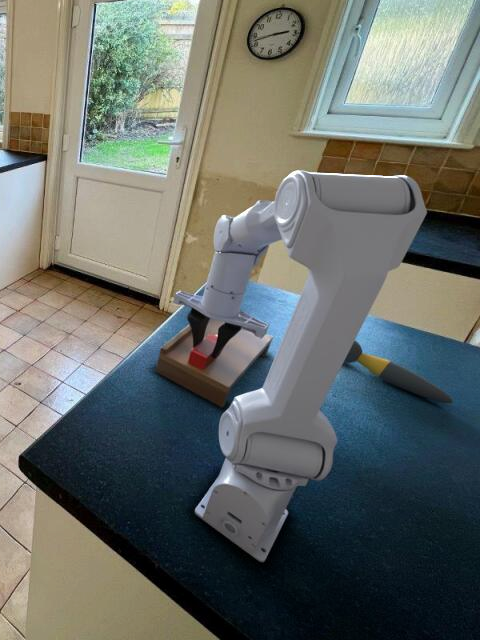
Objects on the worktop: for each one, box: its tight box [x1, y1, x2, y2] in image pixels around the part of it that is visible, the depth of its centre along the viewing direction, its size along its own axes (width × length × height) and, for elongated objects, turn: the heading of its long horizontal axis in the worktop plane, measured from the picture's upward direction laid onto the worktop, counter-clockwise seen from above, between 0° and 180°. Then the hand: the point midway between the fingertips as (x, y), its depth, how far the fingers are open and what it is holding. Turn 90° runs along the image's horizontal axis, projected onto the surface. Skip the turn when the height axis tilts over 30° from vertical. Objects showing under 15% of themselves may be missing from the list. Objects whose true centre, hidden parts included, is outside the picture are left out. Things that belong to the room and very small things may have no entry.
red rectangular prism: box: [188, 334, 218, 370], centre depth 76 cm, size 10×3×3 cm, turn 130°
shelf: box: [154, 318, 274, 408], centre depth 80 cm, size 22×12×6 cm, turn 130°
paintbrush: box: [343, 340, 453, 404], centre depth 77 cm, size 20×5×5 cm, turn 38°
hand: (206, 351), depth 75 cm, fingers closed on red rectangular prism, 3 cm apart
